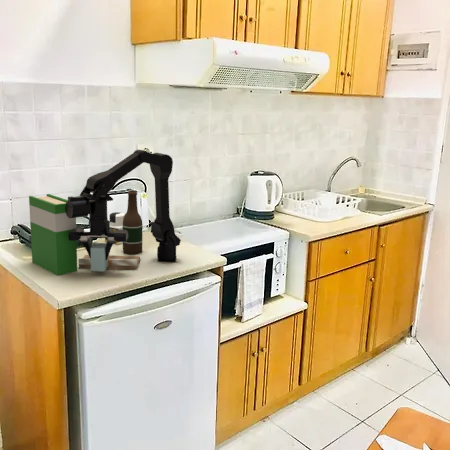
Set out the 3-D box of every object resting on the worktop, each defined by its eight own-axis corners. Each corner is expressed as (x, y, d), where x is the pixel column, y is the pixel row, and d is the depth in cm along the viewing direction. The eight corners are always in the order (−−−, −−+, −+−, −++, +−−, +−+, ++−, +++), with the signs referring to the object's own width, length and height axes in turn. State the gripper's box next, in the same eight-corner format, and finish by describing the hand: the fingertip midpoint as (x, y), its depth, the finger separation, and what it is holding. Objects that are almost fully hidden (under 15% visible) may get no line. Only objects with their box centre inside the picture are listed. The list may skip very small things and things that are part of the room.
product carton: (107, 265, 176) (107, 243, 174) (104, 271, 170) (104, 248, 168) (94, 265, 175) (93, 242, 173) (90, 271, 169) (90, 248, 167)
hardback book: (32, 262, 181) (28, 196, 175) (51, 258, 186) (49, 193, 180) (57, 275, 169) (54, 205, 163) (77, 270, 174) (75, 202, 169)
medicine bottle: (104, 242, 209) (104, 213, 206) (116, 238, 215) (115, 210, 212) (118, 245, 206) (118, 216, 203) (129, 241, 212) (129, 213, 209)
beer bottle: (144, 249, 201) (145, 190, 195) (139, 255, 194) (139, 193, 188) (125, 248, 202) (125, 188, 196) (119, 254, 194) (119, 192, 188)
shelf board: (140, 260, 189) (140, 251, 188) (136, 270, 178) (136, 260, 177) (85, 258, 187) (85, 249, 187) (78, 268, 176) (78, 259, 176)
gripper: (130, 210, 176) (130, 253, 180) (75, 208, 175) (76, 251, 179) (125, 217, 165) (125, 263, 169) (67, 215, 164) (68, 261, 168)
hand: (99, 259), depth 172 cm, fingers closed on product carton, 5 cm apart
